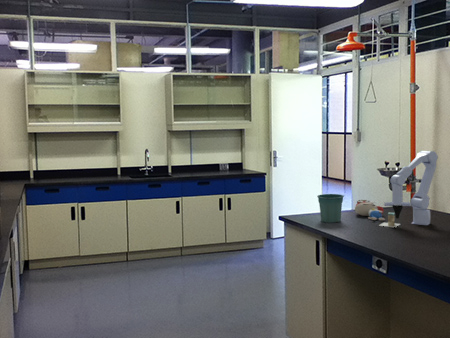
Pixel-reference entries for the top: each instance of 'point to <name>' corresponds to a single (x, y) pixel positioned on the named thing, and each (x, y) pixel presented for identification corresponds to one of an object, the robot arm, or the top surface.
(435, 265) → the top surface
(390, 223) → the teal block wooden top
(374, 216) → the toy
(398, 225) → the mat
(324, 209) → the flower pot
